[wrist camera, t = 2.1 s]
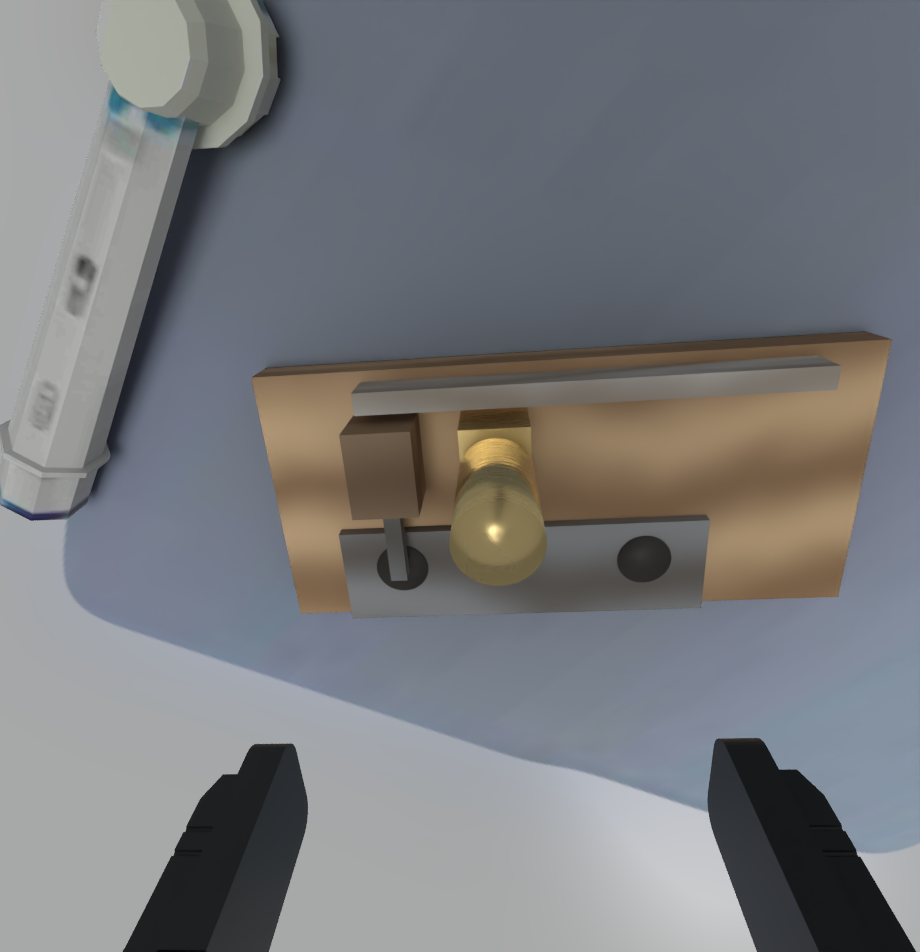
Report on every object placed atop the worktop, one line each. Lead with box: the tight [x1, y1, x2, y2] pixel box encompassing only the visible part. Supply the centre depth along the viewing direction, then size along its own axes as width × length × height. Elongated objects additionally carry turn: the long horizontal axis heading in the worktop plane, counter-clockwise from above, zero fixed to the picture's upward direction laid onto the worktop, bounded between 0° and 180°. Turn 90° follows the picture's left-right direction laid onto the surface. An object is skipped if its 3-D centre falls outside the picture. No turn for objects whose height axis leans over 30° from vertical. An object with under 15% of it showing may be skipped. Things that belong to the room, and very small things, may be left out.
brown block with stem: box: [339, 413, 426, 581], centre depth 28 cm, size 8×3×3 cm, turn 4°
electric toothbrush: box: [0, 0, 281, 520], centre depth 26 cm, size 5×7×25 cm
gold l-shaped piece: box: [449, 407, 547, 586], centre depth 24 cm, size 8×3×9 cm, turn 4°
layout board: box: [252, 331, 892, 618], centre depth 29 cm, size 13×28×4 cm, turn 94°
